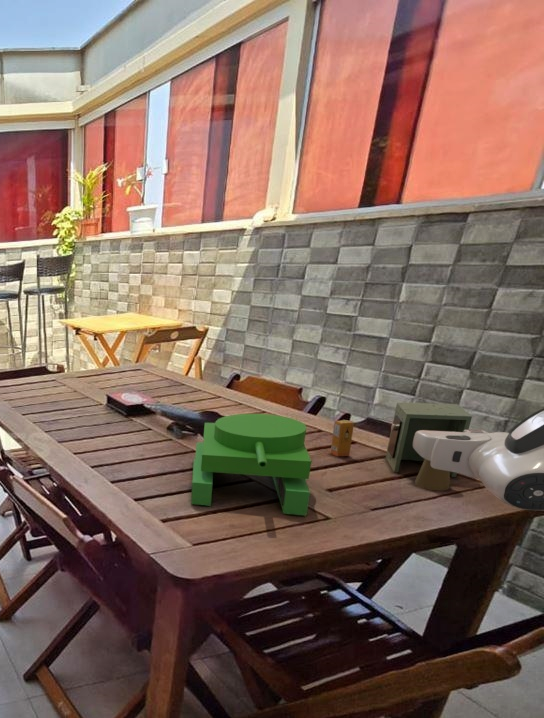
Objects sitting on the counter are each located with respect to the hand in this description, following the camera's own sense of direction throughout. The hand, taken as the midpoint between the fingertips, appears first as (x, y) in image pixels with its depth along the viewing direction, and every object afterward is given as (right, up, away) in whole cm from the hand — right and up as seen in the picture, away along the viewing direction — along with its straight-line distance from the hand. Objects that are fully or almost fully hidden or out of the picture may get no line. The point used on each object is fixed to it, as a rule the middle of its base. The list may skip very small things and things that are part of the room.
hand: (472, 433), depth 100 cm
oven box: (+16, -8, +28) cm, 33 cm away
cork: (+10, -12, +18) cm, 24 cm away
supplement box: (+5, -5, +40) cm, 41 cm away
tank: (-31, -14, +27) cm, 43 cm away
